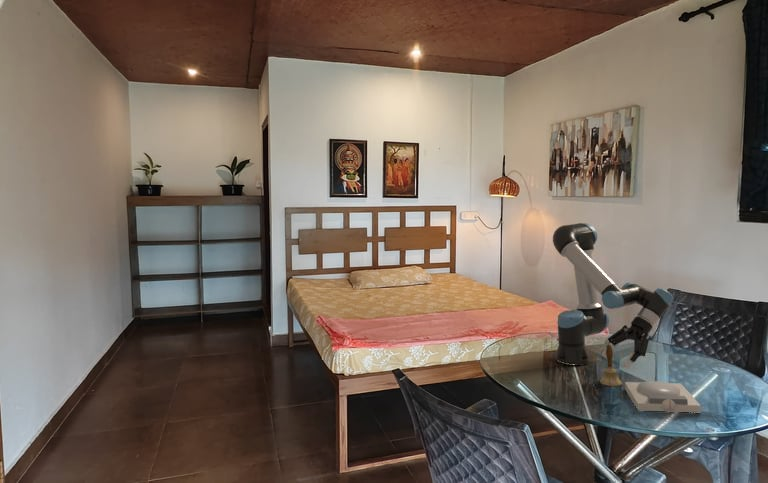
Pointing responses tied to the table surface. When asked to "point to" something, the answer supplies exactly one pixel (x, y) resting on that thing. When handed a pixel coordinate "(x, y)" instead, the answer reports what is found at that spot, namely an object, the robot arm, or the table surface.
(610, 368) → the hand bell
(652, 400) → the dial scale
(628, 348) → the table surface
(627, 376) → the table surface
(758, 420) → the table surface
